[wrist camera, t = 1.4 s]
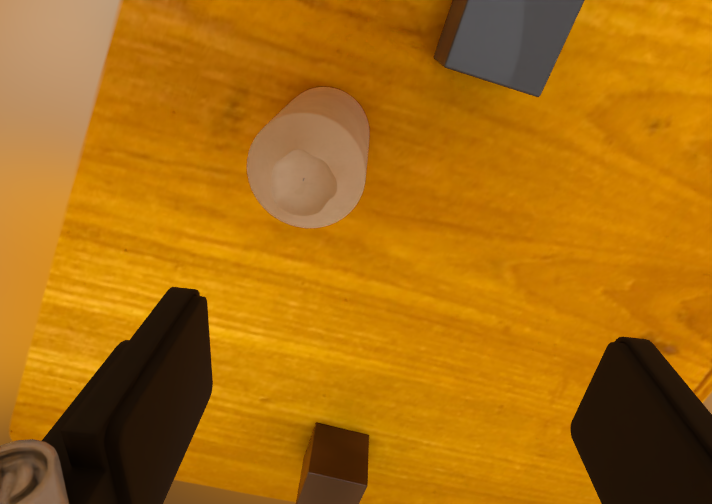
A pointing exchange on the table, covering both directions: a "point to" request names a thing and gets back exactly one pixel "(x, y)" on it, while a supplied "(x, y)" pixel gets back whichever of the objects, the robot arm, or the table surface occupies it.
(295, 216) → the candle
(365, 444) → the far block
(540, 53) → the near block
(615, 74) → the table surface
